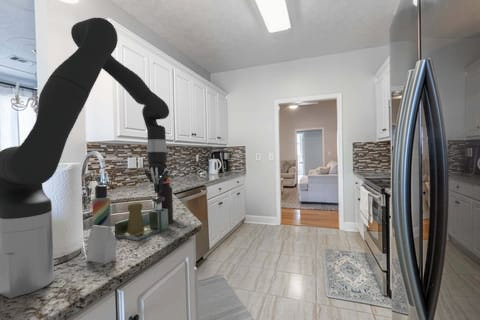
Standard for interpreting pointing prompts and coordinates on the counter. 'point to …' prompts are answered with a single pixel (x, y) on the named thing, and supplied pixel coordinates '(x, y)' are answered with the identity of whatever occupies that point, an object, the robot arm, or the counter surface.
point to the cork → (135, 218)
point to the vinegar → (167, 198)
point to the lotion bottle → (101, 207)
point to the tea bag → (101, 245)
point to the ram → (158, 203)
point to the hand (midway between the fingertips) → (158, 192)
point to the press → (151, 223)
